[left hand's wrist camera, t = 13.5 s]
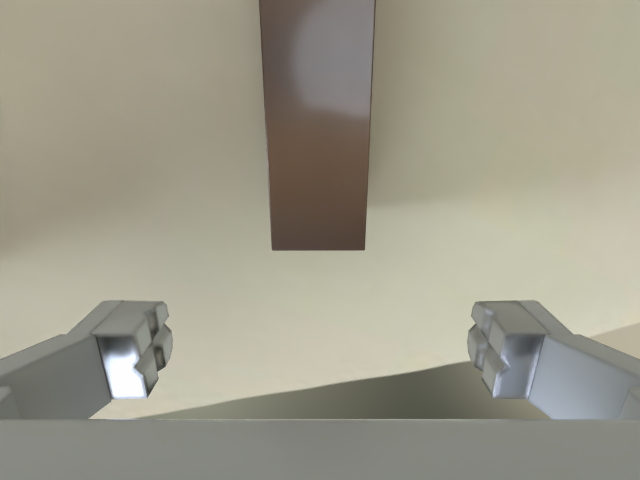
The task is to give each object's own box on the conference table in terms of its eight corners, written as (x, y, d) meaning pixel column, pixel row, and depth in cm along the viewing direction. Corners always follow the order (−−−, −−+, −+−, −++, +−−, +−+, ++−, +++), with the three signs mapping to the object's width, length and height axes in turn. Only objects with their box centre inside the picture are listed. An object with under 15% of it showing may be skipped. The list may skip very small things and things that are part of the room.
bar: (352, 209, 33) (364, 250, 24) (284, 209, 33) (271, 251, 24) (362, -123, 25) (386, -247, 16) (272, -123, 25) (246, -247, 16)
